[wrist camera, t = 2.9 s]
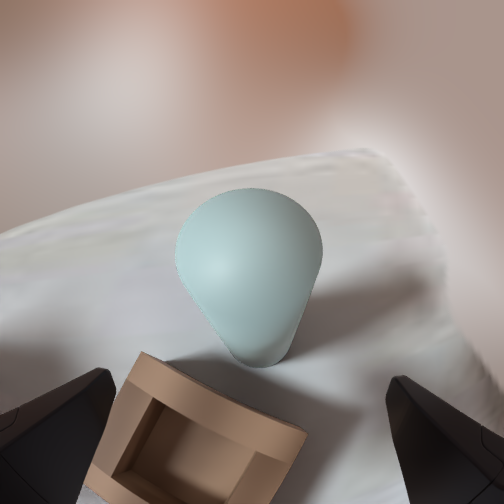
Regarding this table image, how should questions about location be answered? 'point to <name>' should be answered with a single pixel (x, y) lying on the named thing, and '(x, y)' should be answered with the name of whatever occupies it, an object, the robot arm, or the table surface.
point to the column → (250, 269)
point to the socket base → (188, 444)
